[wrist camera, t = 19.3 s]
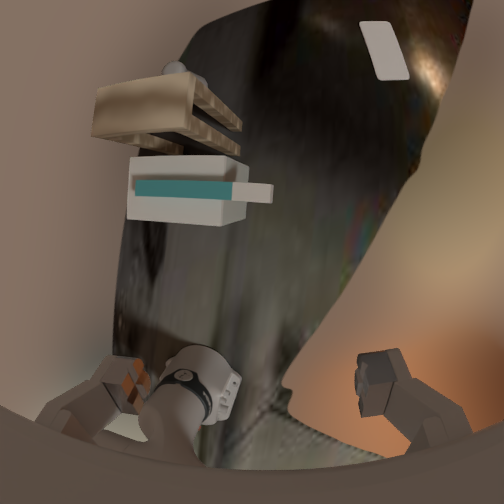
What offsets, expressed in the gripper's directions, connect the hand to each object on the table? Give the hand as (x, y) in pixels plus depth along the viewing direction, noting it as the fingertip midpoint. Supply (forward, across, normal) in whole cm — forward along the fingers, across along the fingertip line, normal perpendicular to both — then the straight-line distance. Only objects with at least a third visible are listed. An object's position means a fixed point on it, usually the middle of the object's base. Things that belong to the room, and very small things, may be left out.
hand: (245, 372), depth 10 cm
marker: (+33, -10, +1) cm, 35 cm away
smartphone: (+53, +26, +25) cm, 64 cm away
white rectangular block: (+49, -13, -2) cm, 51 cm away
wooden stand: (+52, -12, +8) cm, 54 cm away
